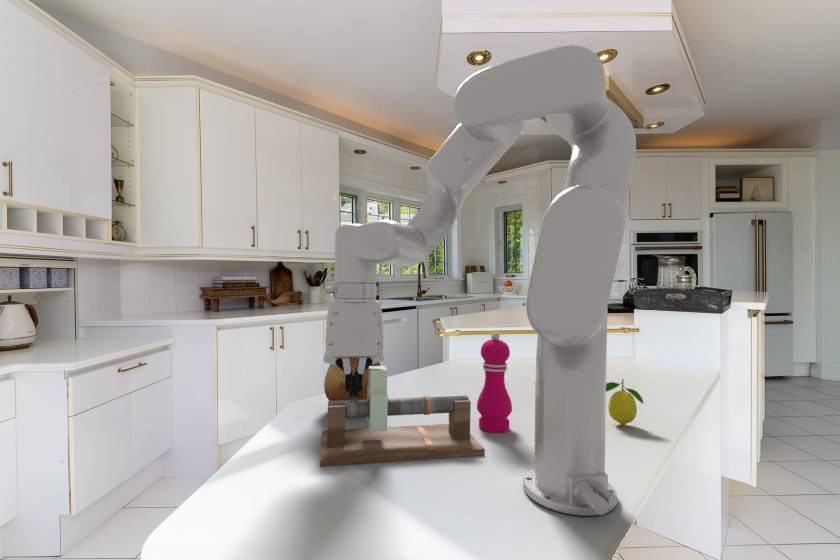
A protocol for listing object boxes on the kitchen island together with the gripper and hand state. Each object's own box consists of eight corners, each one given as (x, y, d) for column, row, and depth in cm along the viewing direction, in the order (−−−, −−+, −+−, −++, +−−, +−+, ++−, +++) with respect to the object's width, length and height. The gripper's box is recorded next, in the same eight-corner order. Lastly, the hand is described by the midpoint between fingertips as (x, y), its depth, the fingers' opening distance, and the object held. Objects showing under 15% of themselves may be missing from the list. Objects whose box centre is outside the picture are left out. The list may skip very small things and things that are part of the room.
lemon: (598, 422, 92) (599, 377, 92) (616, 419, 95) (617, 375, 95) (626, 432, 86) (626, 383, 86) (644, 428, 89) (645, 381, 89)
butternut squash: (313, 409, 98) (316, 302, 98) (361, 399, 107) (363, 302, 107) (345, 424, 88) (347, 305, 88) (395, 412, 96) (397, 304, 97)
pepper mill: (511, 435, 83) (513, 334, 83) (475, 432, 84) (476, 333, 85) (511, 423, 90) (512, 330, 90) (477, 421, 92) (479, 329, 92)
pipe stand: (484, 454, 73) (485, 405, 73) (320, 466, 67) (321, 412, 67) (460, 427, 87) (461, 386, 87) (322, 435, 81) (323, 390, 81)
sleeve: (387, 430, 73) (388, 371, 74) (370, 431, 73) (371, 371, 73) (382, 419, 80) (383, 364, 80) (366, 420, 79) (367, 365, 79)
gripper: (311, 293, 70) (309, 402, 70) (399, 294, 74) (397, 398, 73) (313, 292, 78) (311, 391, 77) (392, 293, 81) (391, 388, 81)
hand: (353, 394), depth 75 cm, fingers closed
